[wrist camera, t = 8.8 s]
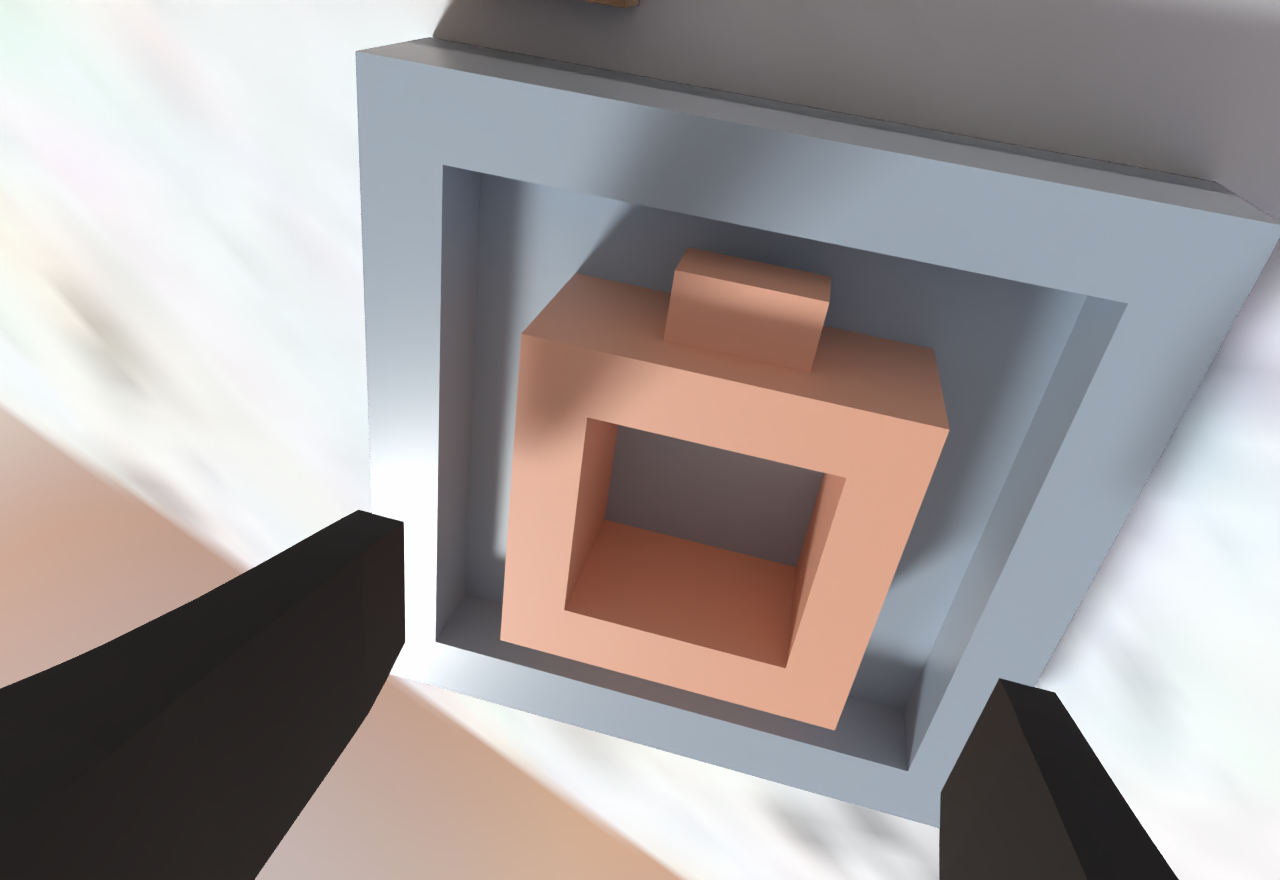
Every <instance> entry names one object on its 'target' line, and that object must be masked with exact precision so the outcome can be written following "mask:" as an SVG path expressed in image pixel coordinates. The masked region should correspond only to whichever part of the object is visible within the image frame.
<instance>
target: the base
mask: <svg viewBox="0 0 1280 880" xmlns="http://www.w3.org/2000/svg"><path fill="white" fill-rule="evenodd" d="M582 1H588V2H593V3H599V4H605V5H611V6H616V7H622V8H628V7H632V6H637V5H639V0H582Z"/></svg>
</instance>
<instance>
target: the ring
mask: <svg viewBox="0 0 1280 880" xmlns="http://www.w3.org/2000/svg"><path fill="white" fill-rule="evenodd" d="M830 289H831V277H830V276H825V275H820V274H815V273H811V272H806V271H801V270H796V269H791V268H786V267H781V266H777V265H772V264H767V263H762V262H757V261H752V260H747V259H743V258H738V257H733V256H728V255H723V254H718V253H713V252H709V251H704V250H699V249H694V248H689V247H688V248H687V250H686V252H685V254H684V255H683V257H682V259H681V260H680V262H679V264H678V266H677V267H676V269H675V273H674V279H673V285H672V291H671V293H668V292H664V291H659V290H654V289H649V288H645V287H640V286H635V285H631V284H626V283H621V282H617V281H612V280H607V279H603V278H598V277H593V276H588V275H584V274H579V273H575V274H574V275H573V276H572V277H571V279H570V280H569V281H568V282H567V283H566V284H565V285H564V286H563V288H562V289H561V290H560V291H559V292H558V293H557V294H556V295H555V296H554V298H553V299H552V300H551V301H550V302H549V303H548V304H547V305H546V307H545V308H544V309H543V310H542V311H541V312H540V313H539V314H538V315H537V317H536V318H535V319H534V320H533V321H532V322H531V323H530V324H529V326H528V327H527V328H526V329H525V330H524V331H523V332H522V333H521V343H520V358H519V372H518V387H517V402H516V416H515V431H514V446H513V460H512V475H511V490H510V504H509V519H508V534H507V548H506V563H505V577H504V592H503V607H502V621H501V636H500V640H502V641H505V642H509V643H513V644H517V645H520V646H524V647H528V648H531V649H535V650H539V651H542V652H546V653H550V654H554V655H557V656H561V657H565V658H568V659H572V660H576V661H579V662H583V663H587V664H591V665H594V666H598V667H602V668H605V669H609V670H613V671H617V672H620V673H624V674H628V675H631V676H635V677H639V678H642V679H646V680H650V681H654V682H657V683H661V684H665V685H668V686H672V687H676V688H679V689H683V690H687V691H691V692H694V693H698V694H702V695H705V696H709V697H713V698H716V699H720V700H724V701H728V702H731V703H735V704H739V705H742V706H746V707H750V708H754V709H757V710H761V711H765V712H768V713H772V714H776V715H779V716H783V717H787V718H791V719H794V720H798V721H802V722H805V723H809V724H813V725H816V726H820V727H824V728H828V729H831V730H835V729H836V726H837V723H838V721H839V718H840V716H841V713H842V710H843V708H844V705H845V702H846V700H847V697H848V695H849V692H850V689H851V687H852V684H853V681H854V679H855V676H856V674H857V671H858V668H859V666H860V663H861V661H862V658H863V655H864V653H865V650H866V647H867V645H868V642H869V640H870V637H871V634H872V632H873V629H874V627H875V624H876V621H877V619H878V616H879V613H880V611H881V608H882V606H883V603H884V600H885V598H886V595H887V592H888V590H889V587H890V585H891V582H892V579H893V577H894V574H895V572H896V569H897V566H898V564H899V561H900V558H901V556H902V553H903V551H904V548H905V545H906V543H907V540H908V538H909V535H910V532H911V530H912V527H913V524H914V522H915V519H916V517H917V514H918V511H919V509H920V506H921V504H922V501H923V498H924V496H925V493H926V490H927V488H928V485H929V483H930V480H931V477H932V475H933V472H934V469H935V467H936V464H937V462H938V459H939V456H940V454H941V451H942V449H943V446H944V443H945V441H946V438H947V435H948V433H949V430H950V429H949V424H948V418H947V413H946V408H945V403H944V398H943V393H942V388H941V383H940V378H939V372H938V367H937V362H936V357H935V352H934V349H931V348H927V347H922V346H917V345H912V344H908V343H903V342H898V341H894V340H889V339H884V338H880V337H875V336H870V335H866V334H861V333H856V332H851V331H847V330H842V329H837V328H833V327H828V326H823V324H824V321H825V317H826V313H827V309H828V306H829V302H830ZM618 425H622V426H626V427H631V428H635V429H639V430H643V431H648V432H652V433H656V434H661V435H665V436H669V437H673V438H678V439H682V440H686V441H690V442H695V443H699V444H703V445H708V446H712V447H716V448H720V449H725V450H729V451H733V452H738V453H742V454H746V455H750V456H755V457H759V458H763V459H767V460H772V461H776V462H780V463H785V464H789V465H793V466H797V467H802V468H806V469H810V470H814V471H819V472H823V473H824V476H823V479H822V482H821V486H820V489H819V492H818V496H817V499H816V502H815V506H814V509H813V512H812V516H811V519H810V522H809V526H808V529H807V532H806V536H805V539H804V542H803V546H802V549H801V552H800V556H799V559H798V562H797V565H796V567H794V566H790V565H786V564H781V563H777V562H773V561H769V560H765V559H761V558H757V557H753V556H749V555H745V554H741V553H737V552H733V551H729V550H725V549H721V548H717V547H713V546H709V545H705V544H701V543H697V542H693V541H689V540H685V539H681V538H677V537H673V536H669V535H665V534H661V533H657V532H653V531H649V530H645V529H640V528H636V527H632V526H628V525H624V524H620V523H616V522H612V521H608V520H605V515H606V508H607V501H608V494H609V487H610V480H611V473H612V466H613V459H614V452H615V445H616V438H617V431H618Z"/></svg>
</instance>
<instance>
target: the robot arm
mask: <svg viewBox="0 0 1280 880" xmlns="http://www.w3.org/2000/svg"><path fill="white" fill-rule="evenodd" d="M404 644H405V560H404V522H403V521H399V520H395V519H392V518H388V517H384V516H380V515H376V514H372V513H369V512H365V511H361V510H357V511H356V512H354V513H352V514H350V515H348V516H346V517H344V518H342V519H340V520H338V521H337V522H335V523H333V524H331V525H329V526H328V527H326V528H324V529H322V530H320V531H319V532H317V533H315V534H313V535H311V536H310V537H308V538H306V539H304V540H303V541H301V542H299V543H297V544H295V545H294V546H292V547H290V548H288V549H287V550H285V551H283V552H281V553H279V554H278V555H276V556H274V557H272V558H270V559H269V560H267V561H265V562H263V563H261V564H260V565H258V566H256V567H254V568H252V569H250V570H248V571H247V572H245V573H243V574H241V575H239V576H237V577H236V578H234V579H232V580H230V581H228V582H226V583H225V584H223V585H221V586H219V587H217V588H215V589H213V590H212V591H210V592H208V593H206V594H204V595H202V596H200V597H199V598H197V599H195V600H193V601H191V602H189V603H187V604H185V605H183V606H181V607H179V608H177V609H175V610H172V611H170V612H168V613H166V614H164V615H162V616H160V617H158V618H156V619H154V620H152V621H150V622H148V623H146V624H144V625H142V626H140V627H138V628H136V629H134V630H132V631H130V632H128V633H126V634H124V635H122V636H120V637H118V638H116V639H114V640H112V641H110V642H108V643H106V644H104V645H102V646H99V647H97V648H95V649H93V650H90V651H88V652H86V653H84V654H81V655H79V656H77V657H75V658H72V659H70V660H68V661H66V662H63V663H61V664H59V665H56V666H54V667H52V668H50V669H47V670H45V671H42V672H40V673H38V674H35V675H33V676H30V677H28V678H25V679H23V680H20V681H18V682H16V683H13V684H11V685H8V686H6V687H3V688H1V689H0V880H255V878H256V877H257V875H258V874H259V872H260V871H261V869H262V868H263V866H264V865H265V863H266V862H267V860H268V859H269V857H270V856H271V855H272V853H273V852H274V850H275V849H276V847H277V846H278V845H279V843H280V842H281V840H282V839H283V837H284V836H285V834H286V833H287V832H288V830H289V829H290V827H291V826H292V824H293V823H294V821H295V820H296V819H297V817H298V816H299V814H300V813H301V811H302V810H303V808H304V807H305V806H306V804H307V803H308V801H309V800H310V798H311V797H312V795H313V794H314V792H315V791H316V789H317V788H318V787H319V785H320V784H321V782H322V781H323V780H324V778H325V777H326V775H327V774H328V772H329V771H330V769H331V768H332V766H333V765H334V764H335V762H336V761H337V759H338V758H339V756H340V754H341V753H342V752H343V750H344V749H345V747H346V746H347V744H348V743H349V742H350V740H351V738H352V737H353V736H354V734H355V733H356V731H357V730H358V728H359V727H360V725H361V724H362V722H363V721H364V719H365V717H366V716H367V715H368V713H369V711H370V709H371V708H372V706H373V704H374V702H375V700H376V698H377V696H378V694H379V693H380V691H381V689H382V687H383V685H384V683H385V682H386V680H387V678H388V676H389V674H390V672H391V670H392V668H393V666H394V664H395V662H396V660H397V658H398V656H399V654H400V652H401V650H402V648H403V646H404ZM939 867H940V880H1179V879H1178V878H1177V877H1176V875H1175V874H1174V872H1173V871H1172V869H1171V868H1170V866H1169V865H1168V864H1167V862H1166V861H1165V859H1164V858H1163V856H1162V855H1161V853H1160V852H1159V850H1158V849H1157V847H1156V846H1155V844H1154V843H1153V842H1152V840H1151V839H1150V837H1149V836H1148V834H1147V833H1146V831H1145V830H1144V828H1143V827H1142V825H1141V824H1140V822H1139V821H1138V819H1137V818H1136V816H1135V815H1134V813H1133V812H1132V810H1131V809H1130V807H1129V805H1128V804H1127V802H1126V801H1125V799H1124V798H1123V796H1122V795H1121V793H1120V792H1119V790H1118V789H1117V787H1116V786H1115V784H1114V782H1113V781H1112V779H1111V778H1110V776H1109V775H1108V773H1107V772H1106V770H1105V769H1104V767H1103V766H1102V764H1101V762H1100V761H1099V759H1098V758H1097V756H1096V755H1095V753H1094V752H1093V750H1092V748H1091V747H1090V745H1089V744H1088V742H1087V741H1086V739H1085V738H1084V736H1083V734H1082V733H1081V731H1080V730H1079V728H1078V727H1077V725H1076V724H1075V722H1074V720H1073V719H1072V717H1071V716H1070V714H1069V713H1068V711H1067V710H1066V708H1065V707H1064V705H1063V704H1062V702H1061V701H1060V699H1059V698H1058V696H1057V695H1056V693H1054V692H1051V691H1047V690H1043V689H1039V688H1035V687H1032V686H1028V685H1024V684H1020V683H1016V682H1012V681H1009V680H1005V679H1001V678H999V680H998V681H997V683H996V685H995V687H994V689H993V691H992V693H991V695H990V697H989V699H988V701H987V703H986V705H985V707H984V709H983V711H982V713H981V715H980V717H979V719H978V720H977V722H976V724H975V726H974V728H973V730H972V732H971V734H970V736H969V738H968V740H967V742H966V744H965V746H964V748H963V750H962V752H961V754H960V756H959V757H958V759H957V761H956V763H955V765H954V767H953V769H952V771H951V773H950V775H949V777H948V779H947V781H946V783H945V785H944V787H943V789H942V791H941V794H940V839H939Z"/></svg>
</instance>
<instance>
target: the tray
mask: <svg viewBox="0 0 1280 880" xmlns="http://www.w3.org/2000/svg"><path fill="white" fill-rule="evenodd" d="M356 77H357V106H358V134H359V163H360V191H361V219H362V248H363V276H364V305H365V333H366V361H367V390H368V418H369V447H370V475H371V503H372V514H376V515H380V516H384V517H388V518H392V519H395V520H399V521H403V522H404V560H405V644H404V646H403V648H402V650H401V652H400V654H399V656H398V658H397V660H396V662H395V664H394V666H393V668H392V670H391V672H390V674H392V675H396V676H400V677H403V678H407V679H410V680H414V681H417V682H421V683H425V684H428V685H432V686H435V687H439V688H442V689H446V690H449V691H453V692H457V693H460V694H464V695H467V696H471V697H474V698H478V699H482V700H485V701H489V702H492V703H496V704H499V705H503V706H506V707H510V708H514V709H517V710H521V711H524V712H528V713H531V714H535V715H538V716H542V717H546V718H549V719H553V720H556V721H560V722H563V723H567V724H571V725H574V726H578V727H581V728H585V729H588V730H592V731H595V732H599V733H603V734H606V735H610V736H613V737H617V738H620V739H624V740H628V741H631V742H635V743H638V744H642V745H645V746H649V747H652V748H656V749H660V750H663V751H667V752H670V753H674V754H677V755H681V756H685V757H688V758H692V759H695V760H699V761H702V762H706V763H709V764H713V765H717V766H720V767H724V768H727V769H731V770H734V771H738V772H741V773H745V774H749V775H752V776H756V777H759V778H763V779H766V780H770V781H774V782H777V783H781V784H784V785H788V786H791V787H795V788H798V789H802V790H806V791H809V792H813V793H816V794H820V795H823V796H827V797H831V798H834V799H838V800H841V801H845V802H848V803H852V804H855V805H859V806H863V807H866V808H870V809H873V810H877V811H880V812H884V813H888V814H891V815H895V816H898V817H902V818H905V819H909V820H912V821H916V822H920V823H923V824H927V825H930V826H934V827H937V828H940V794H941V791H942V789H943V787H944V785H945V783H946V781H947V779H948V777H949V775H950V773H951V771H952V769H953V767H954V765H955V763H956V761H957V759H958V757H959V756H960V754H961V752H962V750H963V748H964V746H965V744H966V742H967V740H968V738H969V736H970V734H971V732H972V730H973V728H974V726H975V724H976V722H977V720H978V719H979V717H980V715H981V713H982V711H983V709H984V707H985V705H986V703H987V701H988V699H989V697H990V695H991V693H992V691H993V689H994V687H995V685H996V683H997V681H998V680H999V678H1001V679H1005V680H1009V681H1012V682H1016V683H1020V684H1024V685H1028V686H1032V687H1035V685H1036V683H1037V681H1038V679H1039V678H1040V676H1041V674H1042V672H1043V670H1044V668H1045V667H1046V665H1047V663H1048V661H1049V659H1050V657H1051V656H1052V654H1053V652H1054V650H1055V648H1056V647H1057V645H1058V643H1059V641H1060V639H1061V637H1062V636H1063V634H1064V632H1065V630H1066V628H1067V626H1068V625H1069V623H1070V621H1071V619H1072V617H1073V615H1074V614H1075V612H1076V610H1077V608H1078V606H1079V604H1080V603H1081V601H1082V599H1083V597H1084V595H1085V593H1086V592H1087V590H1088V588H1089V586H1090V584H1091V582H1092V581H1093V579H1094V577H1095V575H1096V573H1097V572H1098V570H1099V568H1100V566H1101V564H1102V562H1103V561H1104V559H1105V557H1106V555H1107V553H1108V551H1109V550H1110V548H1111V546H1112V544H1113V542H1114V540H1115V539H1116V537H1117V535H1118V533H1119V531H1120V529H1121V528H1122V526H1123V524H1124V522H1125V520H1126V518H1127V517H1128V515H1129V513H1130V511H1131V509H1132V507H1133V506H1134V504H1135V502H1136V500H1137V498H1138V497H1139V495H1140V493H1141V491H1142V489H1143V487H1144V486H1145V484H1146V482H1147V480H1148V478H1149V476H1150V475H1151V473H1152V471H1153V469H1154V467H1155V465H1156V464H1157V462H1158V460H1159V458H1160V456H1161V454H1162V453H1163V451H1164V449H1165V447H1166V445H1167V443H1168V442H1169V440H1170V438H1171V436H1172V434H1173V432H1174V431H1175V429H1176V427H1177V425H1178V423H1179V421H1180V420H1181V418H1182V416H1183V414H1184V412H1185V411H1186V409H1187V407H1188V405H1189V403H1190V401H1191V400H1192V398H1193V396H1194V394H1195V392H1196V390H1197V389H1198V387H1199V385H1200V383H1201V381H1202V379H1203V378H1204V376H1205V374H1206V372H1207V370H1208V368H1209V367H1210V365H1211V363H1212V361H1213V359H1214V357H1215V356H1216V354H1217V352H1218V350H1219V348H1220V346H1221V345H1222V343H1223V341H1224V339H1225V337H1226V336H1227V334H1228V332H1229V330H1230V328H1231V326H1232V325H1233V323H1234V321H1235V319H1236V317H1237V315H1238V314H1239V312H1240V310H1241V308H1242V306H1243V304H1244V303H1245V301H1246V299H1247V297H1248V295H1249V293H1250V292H1251V290H1252V288H1253V286H1254V284H1255V282H1256V281H1257V279H1258V277H1259V275H1260V273H1261V271H1262V270H1263V268H1264V266H1265V264H1266V262H1267V261H1268V259H1269V257H1270V255H1271V253H1272V251H1273V250H1274V248H1275V246H1276V244H1277V242H1278V240H1279V239H1280V222H1279V221H1277V220H1276V219H1274V218H1272V217H1271V216H1269V215H1268V214H1266V213H1264V212H1263V211H1261V210H1260V209H1258V208H1256V207H1255V206H1253V205H1252V204H1250V203H1248V202H1247V201H1245V200H1244V199H1242V198H1240V197H1239V196H1237V195H1236V194H1234V193H1232V192H1231V191H1229V190H1228V189H1226V188H1224V187H1223V186H1221V185H1220V184H1218V183H1216V182H1214V181H1208V180H1203V179H1197V178H1192V177H1187V176H1181V175H1176V174H1170V173H1165V172H1159V171H1154V170H1149V169H1143V168H1138V167H1132V166H1127V165H1121V164H1116V163H1110V162H1105V161H1100V160H1094V159H1089V158H1083V157H1078V156H1072V155H1067V154H1062V153H1056V152H1051V151H1045V150H1040V149H1034V148H1029V147H1023V146H1018V145H1013V144H1007V143H1002V142H996V141H991V140H985V139H980V138H975V137H969V136H964V135H958V134H953V133H947V132H942V131H936V130H931V129H926V128H920V127H915V126H909V125H904V124H898V123H893V122H888V121H882V120H877V119H871V118H866V117H860V116H855V115H849V114H844V113H839V112H833V111H828V110H822V109H817V108H811V107H806V106H801V105H795V104H790V103H784V102H779V101H773V100H768V99H763V98H757V97H752V96H746V95H741V94H735V93H730V92H724V91H719V90H714V89H708V88H703V87H697V86H692V85H686V84H681V83H676V82H670V81H665V80H659V79H654V78H648V77H643V76H637V75H632V74H627V73H621V72H616V71H610V70H605V69H599V68H594V67H589V66H583V65H578V64H572V63H567V62H561V61H556V60H550V59H545V58H540V57H534V56H529V55H523V54H518V53H512V52H507V51H502V50H496V49H491V48H485V47H480V46H474V45H469V44H463V43H458V42H453V41H447V40H442V39H436V38H431V37H429V38H423V39H418V40H413V41H407V42H402V43H397V44H391V45H386V46H381V47H375V48H370V49H364V50H359V51H356ZM688 247H689V248H694V249H699V250H704V251H709V252H713V253H718V254H723V255H728V256H733V257H738V258H743V259H747V260H752V261H757V262H762V263H767V264H772V265H777V266H781V267H786V268H791V269H796V270H801V271H806V272H811V273H815V274H820V275H825V276H830V277H831V289H830V302H829V306H828V309H827V313H826V317H825V321H824V324H823V326H828V327H833V328H837V329H842V330H847V331H851V332H856V333H861V334H866V335H870V336H875V337H880V338H884V339H889V340H894V341H898V342H903V343H908V344H912V345H917V346H922V347H927V348H931V349H934V352H935V357H936V362H937V367H938V372H939V378H940V383H941V388H942V393H943V398H944V403H945V408H946V413H947V418H948V424H949V429H950V430H949V433H948V435H947V438H946V441H945V443H944V446H943V449H942V451H941V454H940V456H939V459H938V462H937V464H936V467H935V469H934V472H933V475H932V477H931V480H930V483H929V485H928V488H927V490H926V493H925V496H924V498H923V501H922V504H921V506H920V509H919V511H918V514H917V517H916V519H915V522H914V524H913V527H912V530H911V532H910V535H909V538H908V540H907V543H906V545H905V548H904V551H903V553H902V556H901V558H900V561H899V564H898V566H897V569H896V572H895V574H894V577H893V579H892V582H891V585H890V587H889V590H888V592H887V595H886V598H885V600H884V603H883V606H882V608H881V611H880V613H879V616H878V619H877V621H876V624H875V627H874V629H873V632H872V634H871V637H870V640H869V642H868V645H867V647H866V650H865V653H864V655H863V658H862V661H861V663H860V666H859V668H858V671H857V674H856V676H855V679H854V681H853V684H852V687H851V689H850V692H849V695H848V697H847V700H846V702H845V705H844V708H843V710H842V713H841V716H840V718H839V721H838V723H837V726H836V729H835V730H831V729H828V728H824V727H820V726H816V725H813V724H809V723H805V722H802V721H798V720H794V719H791V718H787V717H783V716H779V715H776V714H772V713H768V712H765V711H761V710H757V709H754V708H750V707H746V706H742V705H739V704H735V703H731V702H728V701H724V700H720V699H716V698H713V697H709V696H705V695H702V694H698V693H694V692H691V691H687V690H683V689H679V688H676V687H672V686H668V685H665V684H661V683H657V682H654V681H650V680H646V679H642V678H639V677H635V676H631V675H628V674H624V673H620V672H617V671H613V670H609V669H605V668H602V667H598V666H594V665H591V664H587V663H583V662H579V661H576V660H572V659H568V658H565V657H561V656H557V655H554V654H550V653H546V652H542V651H539V650H535V649H531V648H528V647H524V646H520V645H517V644H513V643H509V642H505V641H502V640H500V636H501V621H502V607H503V592H504V577H505V563H506V548H507V534H508V519H509V504H510V490H511V475H512V460H513V446H514V431H515V416H516V402H517V387H518V372H519V358H520V343H521V333H522V332H523V331H524V330H525V329H526V328H527V327H528V326H529V324H530V323H531V322H532V321H533V320H534V319H535V318H536V317H537V315H538V314H539V313H540V312H541V311H542V310H543V309H544V308H545V307H546V305H547V304H548V303H549V302H550V301H551V300H552V299H553V298H554V296H555V295H556V294H557V293H558V292H559V291H560V290H561V289H562V288H563V286H564V285H565V284H566V283H567V282H568V281H569V280H570V279H571V277H572V276H573V275H574V274H575V273H579V274H584V275H588V276H593V277H598V278H603V279H607V280H612V281H617V282H621V283H626V284H631V285H635V286H640V287H645V288H649V289H654V290H659V291H664V292H668V293H671V291H672V285H673V279H674V273H675V269H676V267H677V266H678V264H679V262H680V260H681V259H682V257H683V255H684V254H685V252H686V250H687V248H688ZM823 476H824V473H823V472H819V471H814V470H810V469H806V468H802V467H797V466H793V465H789V464H785V463H780V462H776V461H772V460H767V459H763V458H759V457H755V456H750V455H746V454H742V453H738V452H733V451H729V450H725V449H720V448H716V447H712V446H708V445H703V444H699V443H695V442H690V441H686V440H682V439H678V438H673V437H669V436H665V435H661V434H656V433H652V432H648V431H643V430H639V429H635V428H631V427H626V426H622V425H618V431H617V438H616V445H615V452H614V459H613V466H612V473H611V480H610V487H609V494H608V501H607V508H606V515H605V520H608V521H612V522H616V523H620V524H624V525H628V526H632V527H636V528H640V529H645V530H649V531H653V532H657V533H661V534H665V535H669V536H673V537H677V538H681V539H685V540H689V541H693V542H697V543H701V544H705V545H709V546H713V547H717V548H721V549H725V550H729V551H733V552H737V553H741V554H745V555H749V556H753V557H757V558H761V559H765V560H769V561H773V562H777V563H781V564H786V565H790V566H794V567H796V565H797V562H798V559H799V556H800V552H801V549H802V546H803V542H804V539H805V536H806V532H807V529H808V526H809V522H810V519H811V516H812V512H813V509H814V506H815V502H816V499H817V496H818V492H819V489H820V486H821V482H822V479H823Z"/></svg>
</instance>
